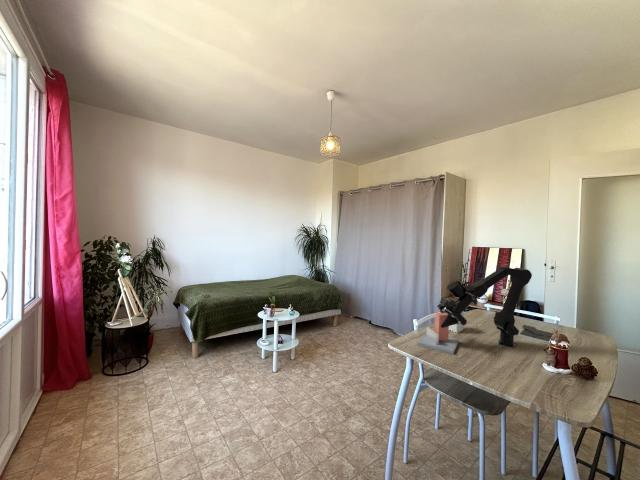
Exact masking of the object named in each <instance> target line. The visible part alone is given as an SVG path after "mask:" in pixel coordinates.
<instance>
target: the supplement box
mask: <svg viewBox="0 0 640 480" xmlns="http://www.w3.org/2000/svg"><path fill="white" fill-rule="evenodd" d="M461 315H462V316H463V317H464V318H465V316H464V315H465V312H464V311H463V312H462V313H461ZM458 323H459V324H455V325H451V326H449V330H451V331H450V332H452V331H453V333H455V332H456V333H455V334H457V333H459V332H463V331H464V326H463V325H462V324H460V321H459V322H458Z"/></svg>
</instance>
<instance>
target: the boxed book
mask: <svg viewBox="0 0 640 480" xmlns="http://www.w3.org/2000/svg"><path fill="white" fill-rule="evenodd" d="M434 315H435V316H434V331H435V332H436V333H438V334H439V340H448V337H449V326H447V327H444V328H442V327H441V325H442V324H443V322H444V321H445V320H446V319H447V317H448V314H446V313H441V312H435V314H434Z"/></svg>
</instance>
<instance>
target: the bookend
mask: <svg viewBox="0 0 640 480" xmlns="http://www.w3.org/2000/svg"><path fill="white" fill-rule="evenodd" d="M426 332H427V337H428V338H429V339H430V340H431V341H432V342H433V343H435V344H436V345H438V341H439V334H438V333H436V332H435V329H434V330H433V329H432V327H430V326H426Z"/></svg>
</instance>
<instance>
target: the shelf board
mask: <svg viewBox="0 0 640 480" xmlns="http://www.w3.org/2000/svg"><path fill="white" fill-rule="evenodd" d="M459 343H460V339H459V338H456V337H451V336H448V340H439V341H438V345H436V344H435V343H433V342H432V341H431V340H430V339H429V338H428V337H427V331H425V333H424V334H423V335H422V336H421V337H420V339H419V340H417V342H416V346H418V345H420V346H419V347H422V346H424V347H423V348H426V347H427V348H426V349H430V348H431V350H433V349H434V350H433V351H438V352H440V353H441V352H442V353H445V354H449V355H454V353H455V351H456V349H457V347H458V345H459Z"/></svg>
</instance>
